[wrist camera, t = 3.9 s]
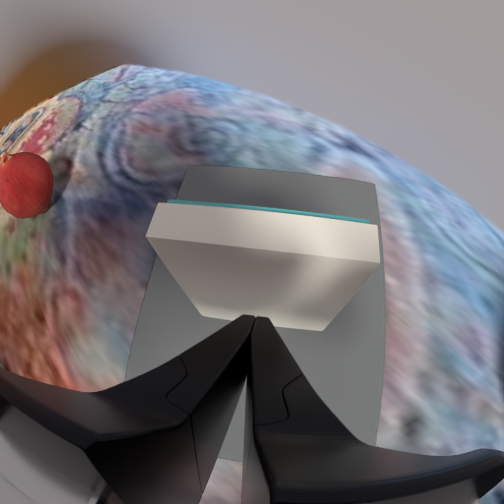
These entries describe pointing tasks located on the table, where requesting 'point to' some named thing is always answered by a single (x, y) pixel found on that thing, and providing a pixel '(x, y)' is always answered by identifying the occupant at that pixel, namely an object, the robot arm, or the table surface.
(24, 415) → the robot arm
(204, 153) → the table surface
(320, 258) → the tile
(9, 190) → the onion
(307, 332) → the mat
